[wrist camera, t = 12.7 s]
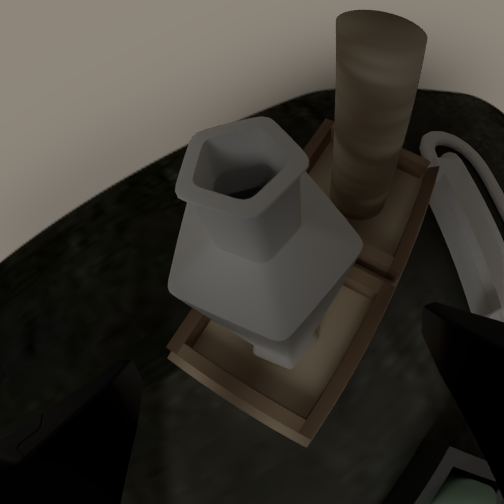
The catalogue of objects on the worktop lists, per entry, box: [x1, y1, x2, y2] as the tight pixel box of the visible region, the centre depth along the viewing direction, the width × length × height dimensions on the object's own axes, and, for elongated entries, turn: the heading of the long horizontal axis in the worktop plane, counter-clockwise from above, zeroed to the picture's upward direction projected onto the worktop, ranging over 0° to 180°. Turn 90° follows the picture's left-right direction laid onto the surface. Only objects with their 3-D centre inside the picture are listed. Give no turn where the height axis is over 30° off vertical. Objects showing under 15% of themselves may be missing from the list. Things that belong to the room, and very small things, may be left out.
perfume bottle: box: [168, 117, 363, 369], centre depth 12 cm, size 5×4×15 cm
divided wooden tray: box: [166, 119, 440, 448], centre depth 20 cm, size 10×21×2 cm, turn 147°
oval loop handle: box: [418, 131, 504, 322], centre depth 18 cm, size 20×8×4 cm, turn 9°
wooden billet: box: [330, 10, 427, 220], centre depth 16 cm, size 4×4×13 cm
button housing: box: [382, 439, 503, 504], centre depth 11 cm, size 6×6×4 cm
